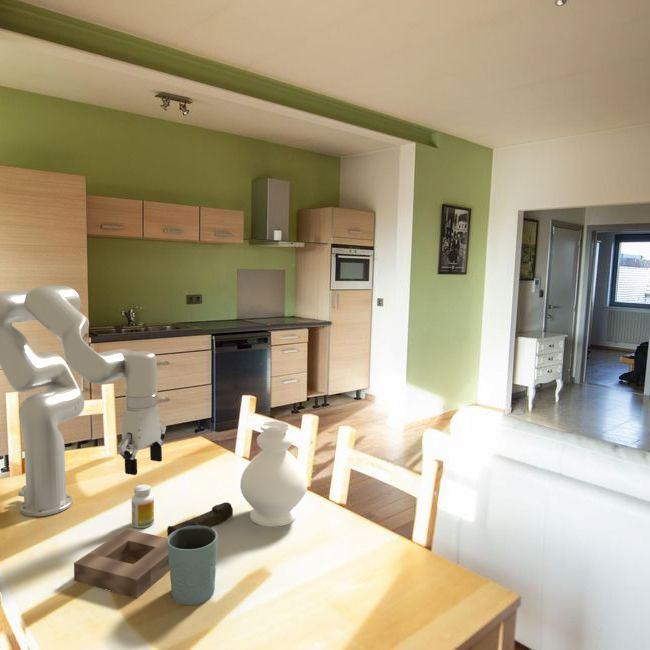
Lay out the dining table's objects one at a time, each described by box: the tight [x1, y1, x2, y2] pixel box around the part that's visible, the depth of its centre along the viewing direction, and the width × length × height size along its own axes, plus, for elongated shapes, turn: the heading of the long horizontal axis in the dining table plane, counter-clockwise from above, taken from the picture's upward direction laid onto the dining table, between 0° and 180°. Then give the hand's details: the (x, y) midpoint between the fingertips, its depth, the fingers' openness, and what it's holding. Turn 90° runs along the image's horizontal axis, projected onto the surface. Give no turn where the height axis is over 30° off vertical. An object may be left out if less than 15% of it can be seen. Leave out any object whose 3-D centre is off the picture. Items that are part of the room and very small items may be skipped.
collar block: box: [73, 528, 170, 599], centre depth 118 cm, size 16×16×4 cm
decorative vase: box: [240, 420, 308, 528], centre depth 144 cm, size 18×18×25 cm
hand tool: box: [166, 501, 234, 537], centre depth 137 cm, size 19×4×5 cm, turn 136°
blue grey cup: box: [166, 526, 219, 606], centre depth 110 cm, size 10×10×12 cm
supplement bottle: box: [131, 484, 155, 529], centre depth 139 cm, size 5×5×10 cm
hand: (144, 467), depth 137 cm, fingers open, 9 cm apart
